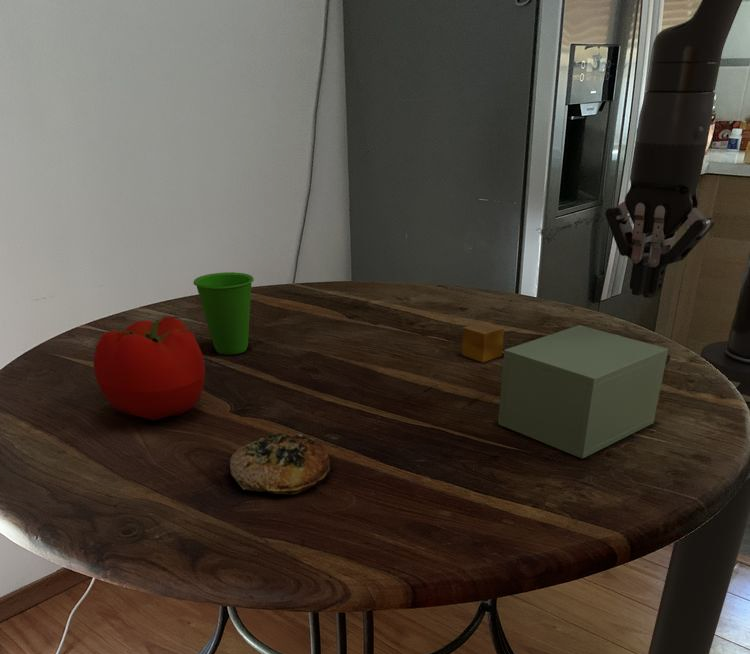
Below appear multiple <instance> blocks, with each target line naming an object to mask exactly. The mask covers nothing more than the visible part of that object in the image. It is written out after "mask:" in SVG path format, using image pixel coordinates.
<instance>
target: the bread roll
mask: <svg viewBox="0 0 750 654" xmlns="http://www.w3.org/2000/svg"><path fill="white" fill-rule="evenodd" d="M229 462H230V464H229V468H230V473H229V474H230V475H231V476H232V477H233V479H234V480H235V482H237V484H238V486H239V487H241V488H242V490H247V491H252V492H259V493H261V492H263V493H264V492H267V493H268V492H269V493H271V494H275V495H286V496H287V495H296V494H300V493H303V492H305V491H308V490H309V489H311V488H312V487H314V486H315V485H317V484H318V483H320V482H322V480H324V479H325V478H326V477H327V475H328V474H329V472H330V471H331V459H330V456H329V452H327V450H326V448H325V447H324V446H323V444H322V443H321V442H319V440H316V439H315V438H313V437H309V436H306V435H305V434H303V433H297V434H296V435H294V434H287V433H285V434H284V433H277V434H276V435H275V434H270V435H268V436H267V437H260V438H259V439H256V440H254V441H252V442H248V443H246V444H244V445H243V446H241V447H238V449H237V450H236V451H235V452H234V453H233V454H232V455H231V457H230V460H229Z"/></svg>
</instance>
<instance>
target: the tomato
mask: <svg viewBox="0 0 750 654" xmlns="http://www.w3.org/2000/svg"><path fill="white" fill-rule="evenodd" d="M191 330H194V329H188V327H187V326H186V325H185V324H184V322H182V320H181V319H178V318H175V317H169V316H163V318H160V319H157V320H155V321H154V322H153V321H151V320H137V321H136V322H134V323H132V324H131V325H129V326H127V327H126V328H124V329H119V330H117V329H112V330H109V331H107V332H105V333H102V335H101V336H100V338H99V340H98V342H97V344H95V345H96V346H95V347H94V348H95V349H94V354H93V361H92V362H93V370H94V377H95V380H96V382H97V384H98V386H99V388H100V390H101V393H102V394H103V395H104V397H105V398H106V400H107V401H108V402H109V404H111V406H112V407H113V408H115V409H117V410H118V411H120V412H121V413H125V414H127V415H131V416H135V417H139V418H143V419H146V420H149V421H152V422H153V421H154V422H155V421H158V420H161V419H164V418H166V417H169V416H170V417H177V416H180V415H182V414H184V413H186V412H189V411H190V410H191V409H192V408H193V407H194V406H195V405H196V403H197V402H198V400H200V398H201V396H202V393H203V390H204V387H205V377H206V367H205V365H206V364H205V361H204V354H203V352H202V350H201V347H200V346H199V342H198V341H197V338H196V336H195V333H193V332H192V331H191Z"/></svg>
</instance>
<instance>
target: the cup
mask: <svg viewBox="0 0 750 654" xmlns="http://www.w3.org/2000/svg"><path fill="white" fill-rule="evenodd" d="M254 280H255V278H254V277H253V275H250V274H249V273H245V272H244V273H243V272H234V271H233V272H227V271H226V272H215V273H208V274H204V275H201V276H197V277H196V278H195V279H194V280H193V285H194V286H196V289H197V293H198V296H199V300H200V304H201V306H202V310H203V314H204V317H205V320H206V324H207V327H208V330H209V333H210V334H209V335H210V337H211V341H212V344H213V348H214V349H215V351H216V352H217V353H218V354H220V355H237V354H241V353H244V352H246V351H247V349H248V347H249V334H250V317H251V316H250V314H251V302H252V301H251V299H252V298H251V297H252V284H253V282H254Z"/></svg>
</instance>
